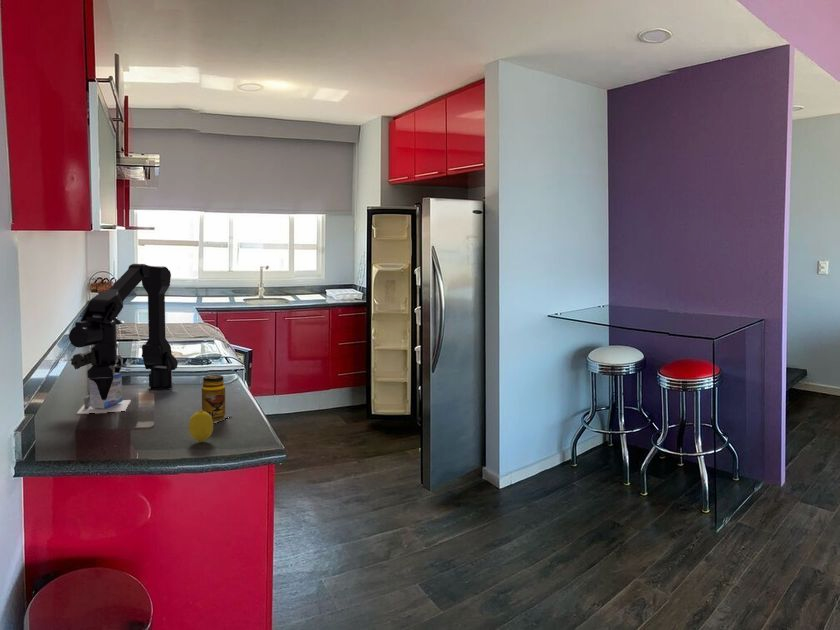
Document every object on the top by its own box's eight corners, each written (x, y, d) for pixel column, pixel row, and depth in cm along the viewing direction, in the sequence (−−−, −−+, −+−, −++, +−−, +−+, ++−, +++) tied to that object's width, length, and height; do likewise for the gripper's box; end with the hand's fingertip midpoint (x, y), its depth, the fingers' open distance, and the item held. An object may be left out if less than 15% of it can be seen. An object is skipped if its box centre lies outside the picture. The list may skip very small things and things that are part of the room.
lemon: (192, 438, 148) (192, 406, 147) (215, 438, 149) (215, 407, 148) (186, 446, 143) (185, 413, 142) (210, 446, 143) (209, 413, 142)
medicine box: (103, 409, 168) (102, 379, 167) (89, 407, 169) (88, 377, 168) (122, 401, 176) (122, 372, 175) (109, 400, 177) (108, 371, 176)
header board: (131, 401, 180) (130, 390, 180) (125, 411, 169) (124, 400, 168) (86, 403, 176) (85, 391, 176) (76, 414, 165) (76, 402, 165)
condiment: (216, 424, 160) (215, 380, 159) (189, 420, 163) (189, 377, 162) (232, 417, 167) (232, 374, 166) (206, 413, 170) (206, 371, 168)
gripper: (80, 337, 177) (82, 389, 179) (64, 348, 159) (67, 405, 161) (122, 336, 180) (123, 387, 182) (111, 347, 163) (113, 403, 165)
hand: (106, 395), depth 172 cm, fingers closed on medicine box, 9 cm apart
